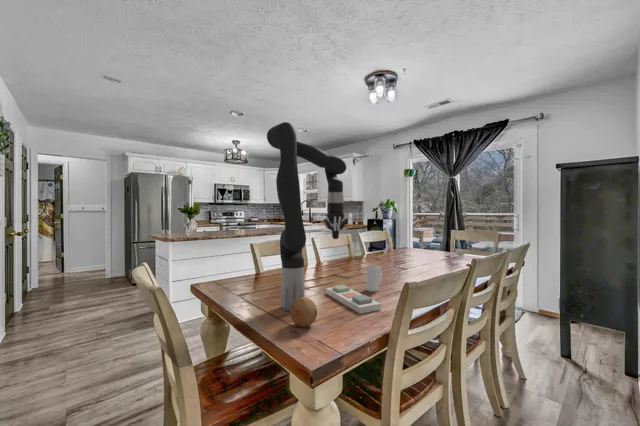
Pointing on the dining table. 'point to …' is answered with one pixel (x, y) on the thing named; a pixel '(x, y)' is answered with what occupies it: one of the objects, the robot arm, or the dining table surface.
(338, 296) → the button panel
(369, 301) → the grey button
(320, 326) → the dining table surface
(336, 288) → the green button
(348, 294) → the terracotta button
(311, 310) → the onion
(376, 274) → the mug
